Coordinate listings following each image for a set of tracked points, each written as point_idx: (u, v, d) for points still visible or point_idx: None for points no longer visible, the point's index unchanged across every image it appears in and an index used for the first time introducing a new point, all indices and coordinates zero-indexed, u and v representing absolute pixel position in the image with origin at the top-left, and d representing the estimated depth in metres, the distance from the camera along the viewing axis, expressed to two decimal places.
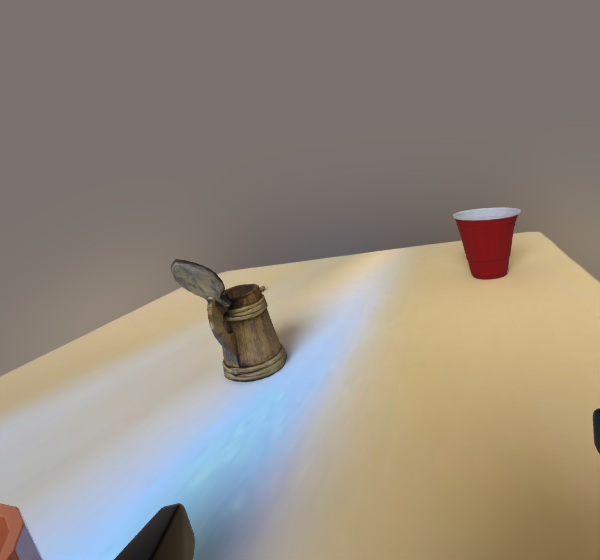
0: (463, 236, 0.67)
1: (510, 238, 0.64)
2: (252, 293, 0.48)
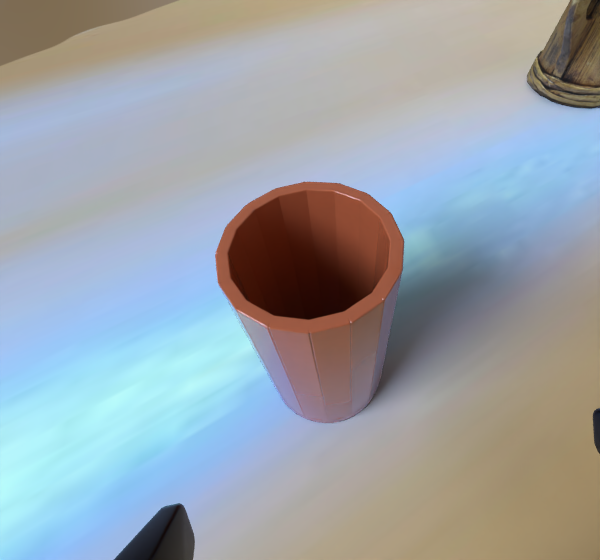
0: None
1: None
2: None
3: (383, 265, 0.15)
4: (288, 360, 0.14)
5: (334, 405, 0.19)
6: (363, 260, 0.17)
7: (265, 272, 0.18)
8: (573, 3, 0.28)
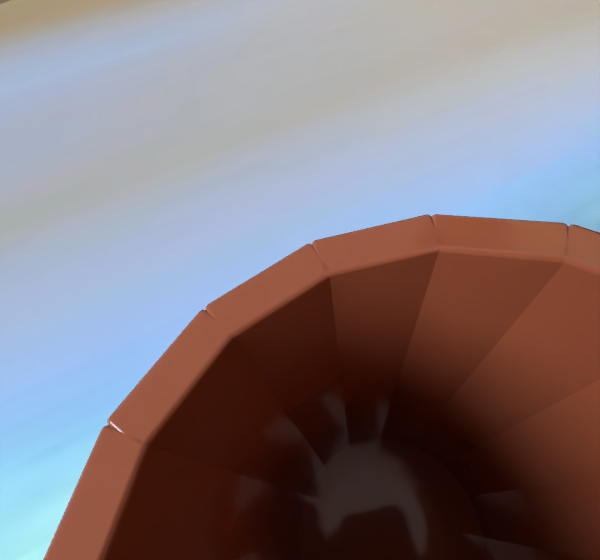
0: None
1: None
2: None
3: None
4: None
5: None
6: (562, 432, 0.06)
7: (275, 443, 0.07)
8: None
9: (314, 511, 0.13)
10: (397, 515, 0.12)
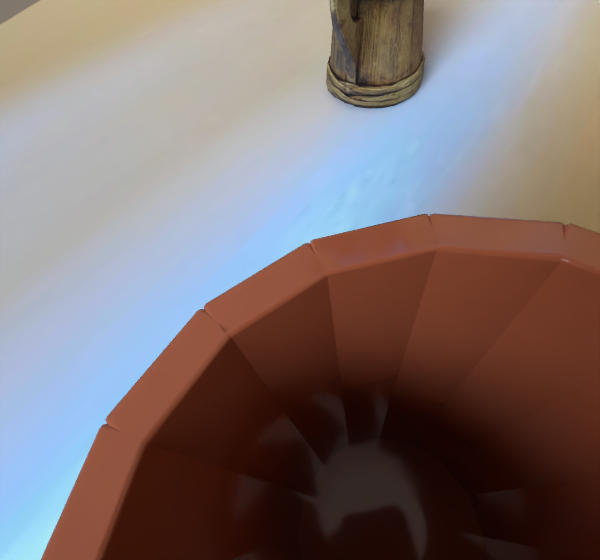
0: None
1: None
2: None
3: None
4: None
5: None
6: (560, 431, 0.06)
7: (274, 442, 0.07)
8: (332, 10, 0.25)
9: (313, 510, 0.13)
10: (396, 514, 0.12)
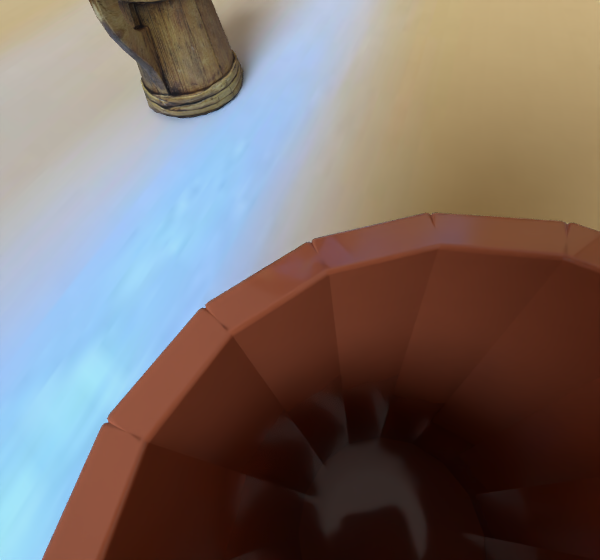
0: None
1: None
2: None
3: None
4: None
5: None
6: (561, 430, 0.06)
7: (275, 441, 0.07)
8: (101, 20, 0.24)
9: (314, 510, 0.13)
10: (397, 514, 0.12)
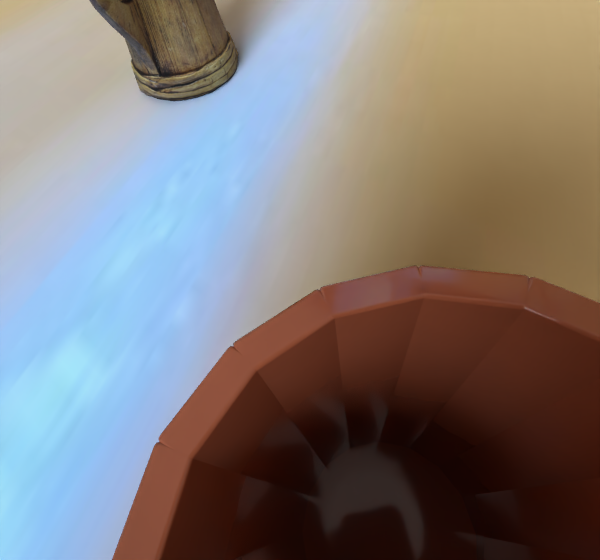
0: None
1: None
2: None
3: None
4: None
5: None
6: (535, 441, 0.07)
7: (284, 450, 0.08)
8: None
9: (316, 510, 0.14)
10: (394, 514, 0.13)
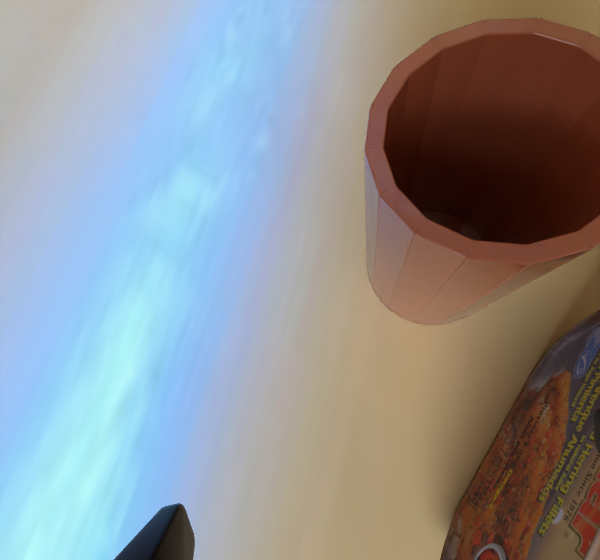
0: None
1: None
2: None
3: (589, 148, 0.11)
4: (455, 285, 0.11)
5: (461, 314, 0.17)
6: (532, 139, 0.13)
7: (392, 163, 0.14)
8: None
9: None
10: None
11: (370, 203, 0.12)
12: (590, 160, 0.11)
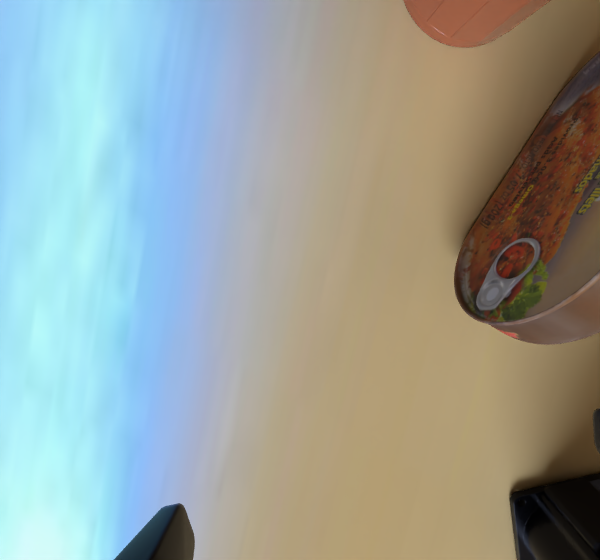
0: None
1: None
2: None
3: None
4: None
5: (527, 8, 0.15)
6: None
7: None
8: None
9: None
10: None
11: None
12: None
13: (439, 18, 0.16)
